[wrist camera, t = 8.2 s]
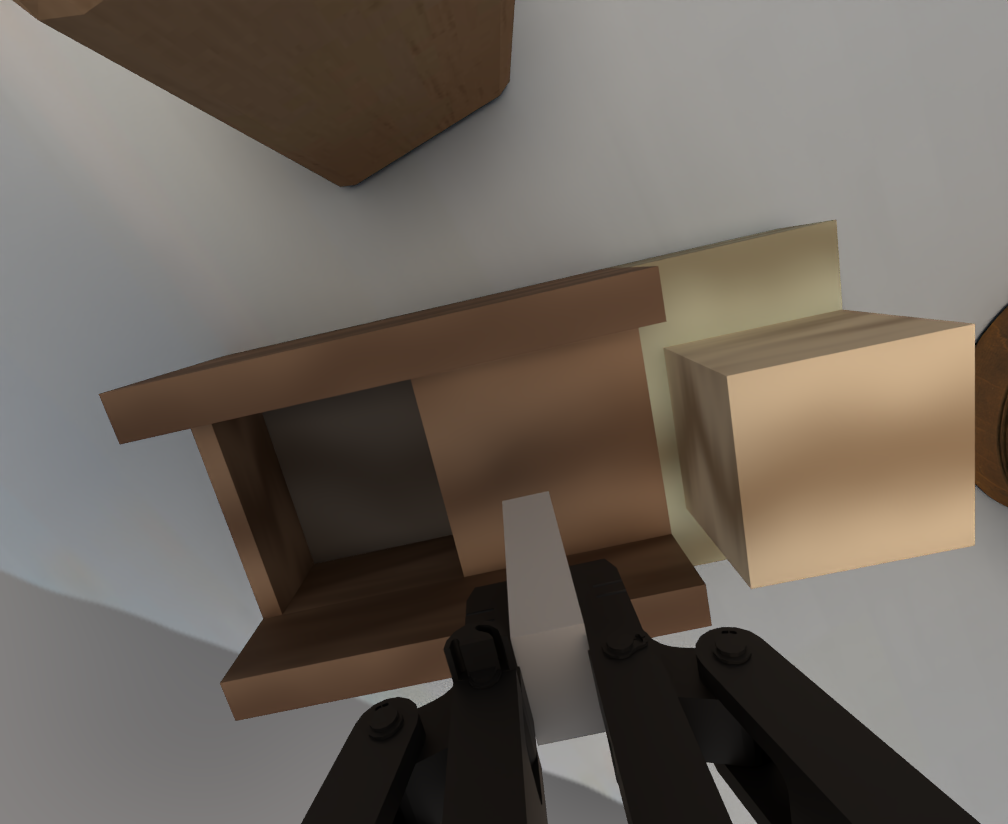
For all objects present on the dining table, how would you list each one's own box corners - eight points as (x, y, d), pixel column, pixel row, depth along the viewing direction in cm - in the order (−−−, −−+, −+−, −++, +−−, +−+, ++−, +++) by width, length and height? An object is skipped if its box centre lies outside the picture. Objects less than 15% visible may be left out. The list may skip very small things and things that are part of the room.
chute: (223, 356, 29) (98, 394, 20) (777, 228, 28) (914, 207, 19) (308, 596, 33) (235, 720, 24) (802, 492, 32) (927, 582, 23)
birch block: (663, 347, 25) (726, 376, 18) (841, 309, 24) (975, 323, 17) (686, 508, 27) (751, 588, 20) (851, 474, 26) (974, 545, 19)
